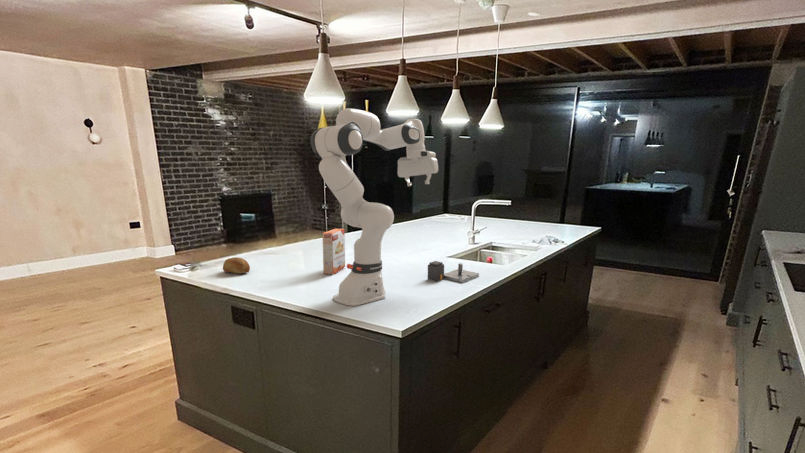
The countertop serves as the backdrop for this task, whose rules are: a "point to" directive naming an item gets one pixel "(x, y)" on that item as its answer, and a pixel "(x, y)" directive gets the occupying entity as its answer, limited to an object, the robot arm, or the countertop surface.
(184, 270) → the countertop surface
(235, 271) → the bread roll
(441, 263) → the dark grey block
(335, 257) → the cracker box
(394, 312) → the countertop surface
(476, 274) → the hub plate
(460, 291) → the countertop surface
